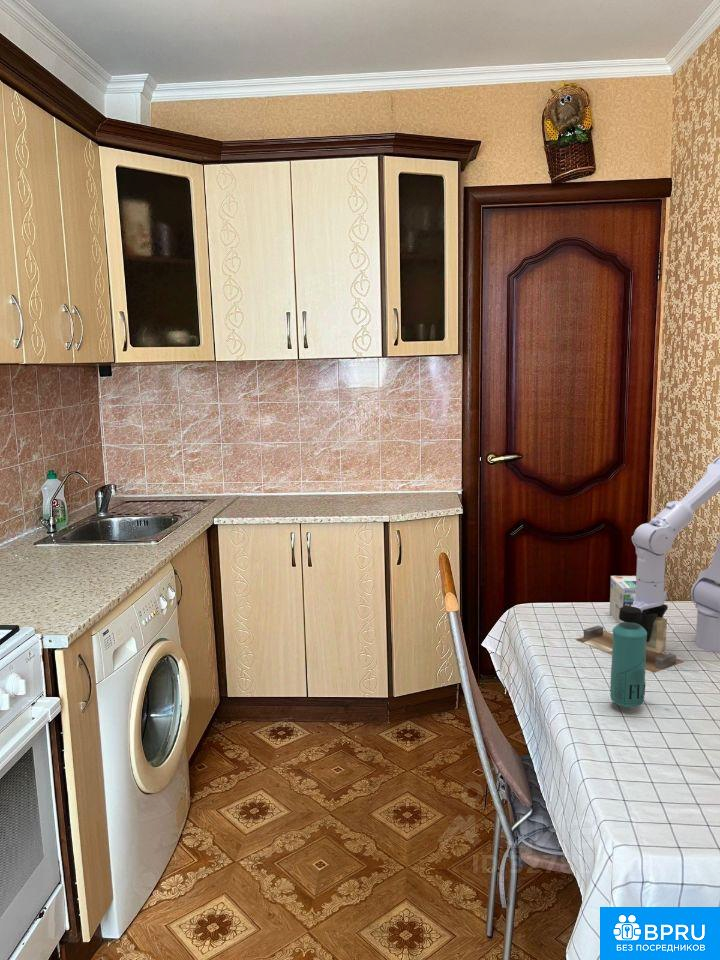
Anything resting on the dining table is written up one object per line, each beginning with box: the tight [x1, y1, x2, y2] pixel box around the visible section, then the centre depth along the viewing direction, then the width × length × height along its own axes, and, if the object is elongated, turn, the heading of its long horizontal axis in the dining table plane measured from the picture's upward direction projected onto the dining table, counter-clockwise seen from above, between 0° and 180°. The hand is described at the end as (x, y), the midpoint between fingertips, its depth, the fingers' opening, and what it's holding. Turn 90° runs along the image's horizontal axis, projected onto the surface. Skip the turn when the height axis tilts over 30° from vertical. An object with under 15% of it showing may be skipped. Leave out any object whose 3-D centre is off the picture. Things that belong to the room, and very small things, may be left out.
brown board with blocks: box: [575, 625, 685, 674], centre depth 173 cm, size 10×22×3 cm, turn 32°
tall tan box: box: [646, 617, 668, 653], centre depth 168 cm, size 3×7×7 cm, turn 46°
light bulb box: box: [609, 575, 636, 624], centre depth 191 cm, size 11×7×11 cm, turn 179°
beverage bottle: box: [609, 606, 647, 708], centre depth 146 cm, size 6×7×20 cm
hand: (647, 638), depth 168 cm, fingers closed on tall tan box, 3 cm apart
